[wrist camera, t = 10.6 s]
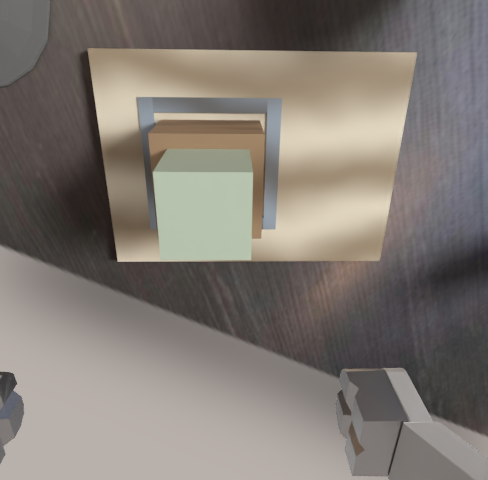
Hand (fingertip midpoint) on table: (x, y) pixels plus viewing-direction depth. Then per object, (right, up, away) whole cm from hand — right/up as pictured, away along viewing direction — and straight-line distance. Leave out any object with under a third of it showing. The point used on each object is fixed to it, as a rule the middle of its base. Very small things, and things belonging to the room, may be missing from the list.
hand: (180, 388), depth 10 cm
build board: (+2, +10, +21) cm, 23 cm away
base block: (-1, +9, +20) cm, 22 cm away
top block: (-1, +7, +15) cm, 17 cm away
